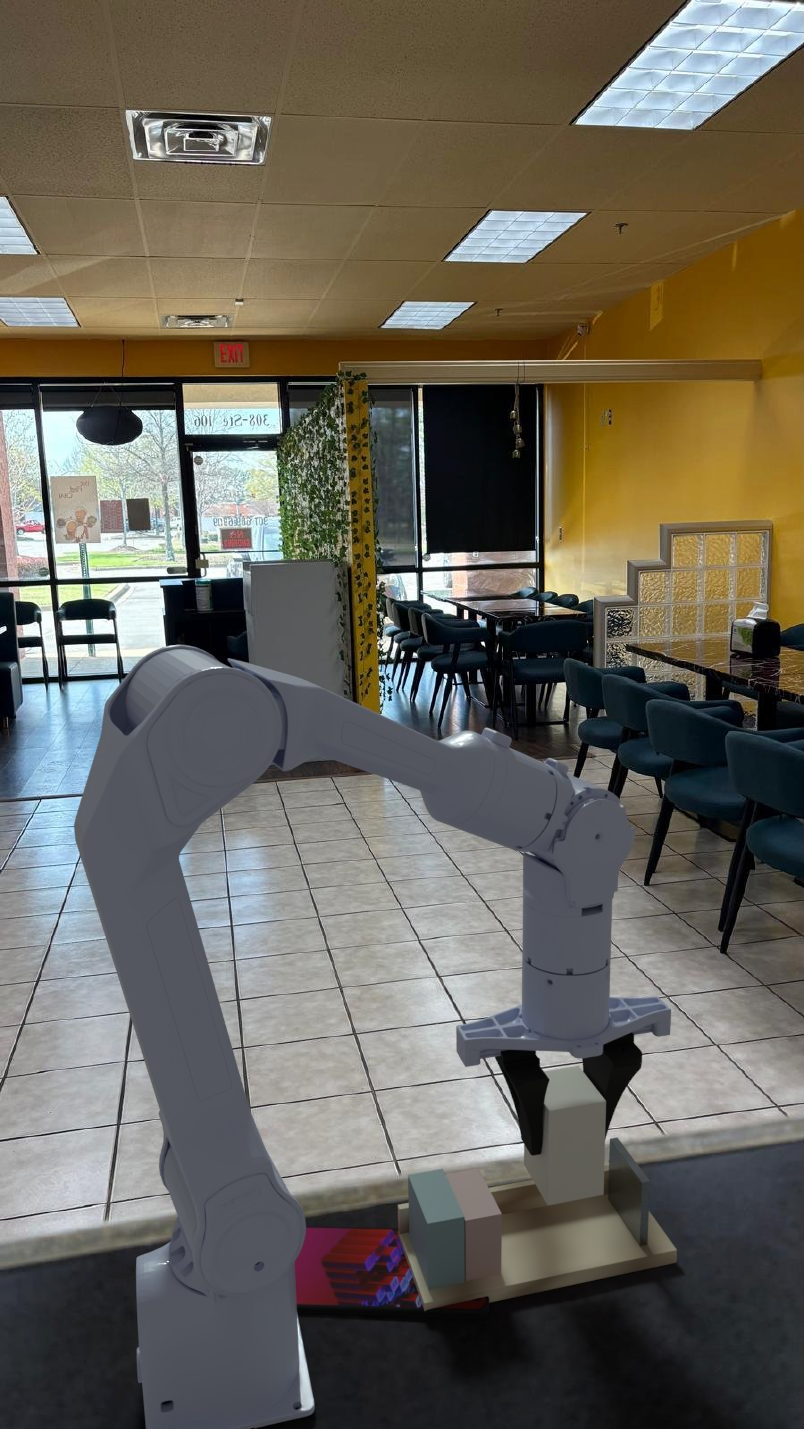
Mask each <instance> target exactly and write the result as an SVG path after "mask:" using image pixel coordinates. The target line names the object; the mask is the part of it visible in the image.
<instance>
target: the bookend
mask: <svg viewBox="0 0 804 1429" xmlns="http://www.w3.org/2000/svg"><path fill="white" fill-rule="evenodd" d="M608 1152H609V1155H608V1156H609V1157H608V1166H609V1183H608V1200H609V1201H610V1203H611V1204H612V1206H613V1207H614V1209H615V1210H616V1212H617V1213H618V1215H619V1216H620V1218H621V1219H622V1221H623V1222H624V1224H625V1225H626V1227H627V1228H628V1230H629V1231H630V1233H631V1234H632V1236H633V1237H634V1239H635V1240H636V1242H637V1243H638V1245H639V1246H643V1245H647V1244H648V1219H649V1212H650V1191H651V1190H650V1189H651V1180H650V1179H649V1177H648V1176H647V1175H646V1174H645V1173H644V1171H643V1169H642V1168H641V1167H640V1166H639V1164H638V1163H637V1161H636V1160H635V1159H634V1158H633V1156H632V1155H631V1154H630V1152H629V1151H628V1149H627V1148H626V1147H625V1146H624V1144H623V1143H622V1142H621V1140H620V1138H618V1137H613V1138H609V1151H608Z"/></svg>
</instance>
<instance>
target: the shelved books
mask: <svg viewBox="0 0 804 1429" xmlns="http://www.w3.org/2000/svg"><path fill="white" fill-rule="evenodd" d="M407 1180H408V1181H407V1182H408V1183H407V1185H408V1186H407V1187H408V1188H407V1189H408V1192H407V1193H408V1203H409V1238H410V1241H411V1244H412V1247H413V1249H414V1252H415V1255H416V1258H417V1260H418V1263H419V1266H420V1269H421V1271H422V1274H423V1277H424V1280H425V1282H426V1285H427V1288H428V1290H432V1289H436V1288H441V1287H446V1286H451V1285H456V1284H460V1283H465V1281H469V1280H474V1279H479V1278H484V1277H488V1276H493V1275H498V1274H501V1252H502V1213H501V1211H500V1209H499V1207H498V1205H497V1203H496V1201H495V1200H494V1198H493V1196H492V1194H491V1192H490V1190H489V1188H490V1187H489V1186H488V1183H487V1182H486V1180H485V1178H484V1176H483V1174H482V1171H481V1170H480V1168H473V1169H466V1170H461V1171H455V1172H450V1173H446V1172H445V1170H444V1169H443V1168H440V1169H434V1170H429V1171H422V1172H417V1173H413V1174H412V1173H411V1174H408V1175H407Z"/></svg>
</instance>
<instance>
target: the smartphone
mask: <svg viewBox="0 0 804 1429" xmlns="http://www.w3.org/2000/svg"><path fill="white" fill-rule="evenodd" d="M295 1282H296V1304H297V1313H299V1314H300V1313H303V1314H304V1313H306V1314H307V1313H308V1314H328V1315H329V1314H330V1315H354V1316H355V1315H356V1316H357V1315H358V1316H380V1317H381V1316H382V1317H405V1318H406V1317H408V1318H433V1319H455V1320H456V1319H458V1320H459V1319H460V1320H464V1319H465V1320H479V1319H480V1320H481V1319H483V1318H485V1317H486V1316H488V1313H489V1312H490V1303H489V1297H488V1296H485V1297H482V1298H476V1299H472V1300H468V1301H464V1302H459V1303H455V1304H450V1305H446V1306H441V1307H437V1308H432V1309H428V1310H426V1311H424V1308H423V1305H422V1302H421V1299H420V1296H419V1294H418V1291H417V1288H416V1285H415V1282H414V1279H413V1277H412V1274H411V1271H410V1268H409V1265H408V1262H407V1260H406V1257H405V1254H404V1251H403V1248H402V1245H401V1242H400V1240H399V1237H398V1227H369V1226H368V1227H367V1226H366V1227H361V1226H324V1225H321V1226H317V1225H315V1226H314V1225H313V1226H312V1225H306V1233H305V1239H304V1243H303V1246H302V1248H301V1251H300V1253H299V1255H298V1257H297V1258H296V1260H295Z"/></svg>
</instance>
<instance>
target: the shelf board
mask: <svg viewBox="0 0 804 1429" xmlns="http://www.w3.org/2000/svg"><path fill="white" fill-rule="evenodd" d="M608 1183H609V1165H604V1195H599V1196H594V1197H589V1198H584V1199H579V1200H574V1201H569V1202H564V1203H559V1204H553V1205H547V1203H546V1202H545V1200H544V1198H543V1196H542V1195H541V1193H540V1191H539V1190H538V1188H537V1186H536V1184H535V1183H534V1181H533V1179H529V1180H524V1181H523V1180H522V1181H519V1182H513V1183H507V1184H502V1185H496V1186H492V1187H488V1188H489V1190H490V1192H491V1194H492V1196H493V1198H494V1200H495V1201H496V1203H497V1205H498V1207H499V1209H500V1211H501V1213H502V1252H501V1274H498V1275H493V1276H488V1277H484V1278H479V1279H474V1280H469V1281H465V1283H460V1284H456V1285H451V1286H446V1287H441V1288H436V1289H432V1290H428V1288H427V1285H426V1282H425V1280H424V1277H423V1274H422V1271H421V1269H420V1266H419V1263H418V1260H417V1258H416V1255H415V1252H414V1249H413V1247H412V1244H411V1241H410V1238H409V1202H406V1203H401V1204H397V1228H398V1237H399V1240H400V1242H401V1245H402V1248H403V1251H404V1254H405V1257H406V1260H407V1262H408V1265H409V1268H410V1271H411V1274H412V1277H413V1279H414V1282H415V1285H416V1288H417V1291H418V1294H419V1296H420V1299H421V1302H422V1305H423V1308H424V1311H426V1310H428V1309H432V1308H437V1307H441V1306H446V1305H450V1304H455V1303H459V1302H464V1301H468V1300H472V1299H476V1298H482V1297H485V1296H488V1297H489V1304H490V1303H494V1302H498V1301H502V1300H503V1301H504V1300H508V1299H512V1298H518V1297H523V1296H527V1295H531V1294H536V1293H541V1292H544V1291H546V1292H547V1291H551V1290H554V1289H559V1288H564V1287H568V1286H573V1285H578V1284H582V1283H583V1284H584V1283H587V1282H592V1281H596V1280H601V1279H607V1278H611V1277H615V1276H621V1275H625V1274H629V1273H633V1272H639V1271H643V1270H648V1269H652V1268H659V1267H662V1266H667V1265H672V1264H676V1263H677V1257H678V1254H677V1253H678V1249H677V1248H676V1246H675V1245H674V1244H673V1243H672V1241H671V1239H670V1238H669V1237H668V1235H667V1234H666V1232H665V1231H664V1229H663V1228H662V1227H661V1226H660V1224H659V1223H658V1221H657V1220H656V1219H655V1216H653V1215H652V1213H651V1211H649V1219H648V1244H647V1245H643V1246H639V1245H638V1243H637V1242H636V1240H635V1239H634V1237H633V1236H632V1234H631V1233H630V1231H629V1230H628V1228H627V1227H626V1225H625V1224H624V1222H623V1221H622V1219H621V1218H620V1216H619V1215H618V1213H617V1212H616V1210H615V1209H614V1207H613V1206H612V1204H611V1203H610V1201H609V1200H608Z"/></svg>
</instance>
